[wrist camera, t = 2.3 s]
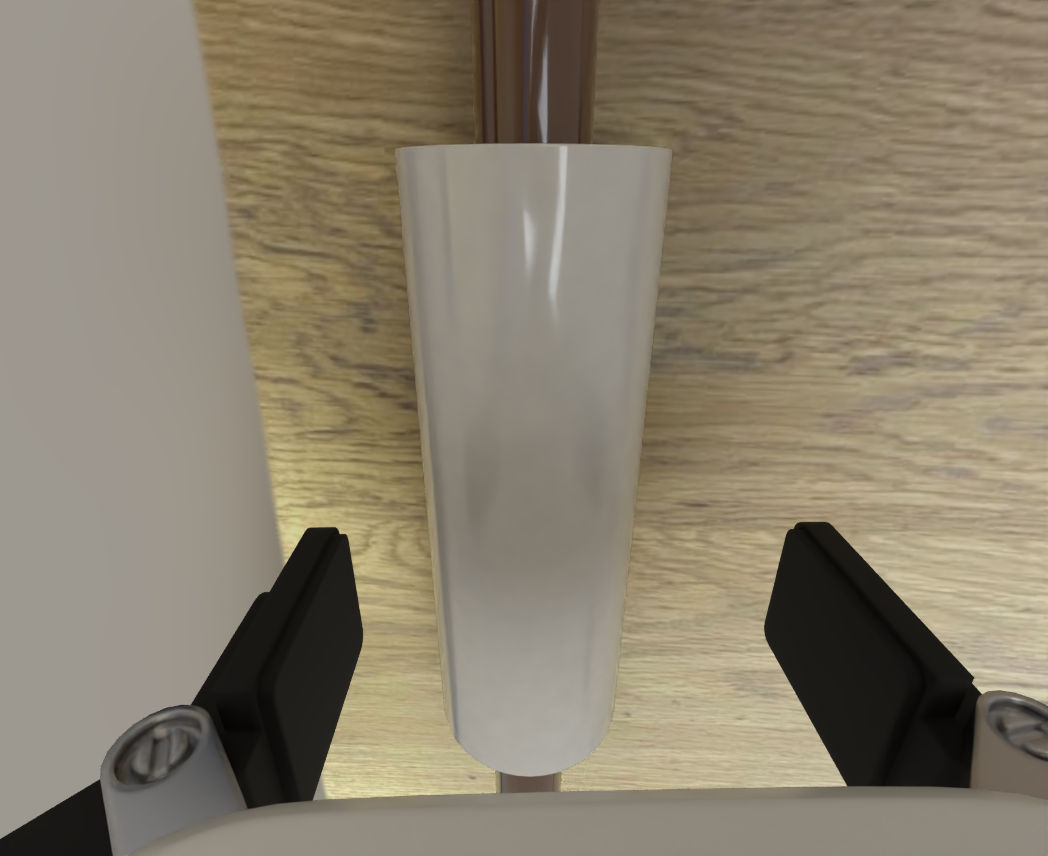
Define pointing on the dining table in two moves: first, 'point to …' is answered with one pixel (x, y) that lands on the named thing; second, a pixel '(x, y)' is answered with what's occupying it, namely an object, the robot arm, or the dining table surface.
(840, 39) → the dining table surface
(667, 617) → the dining table surface
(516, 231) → the rolling pin
